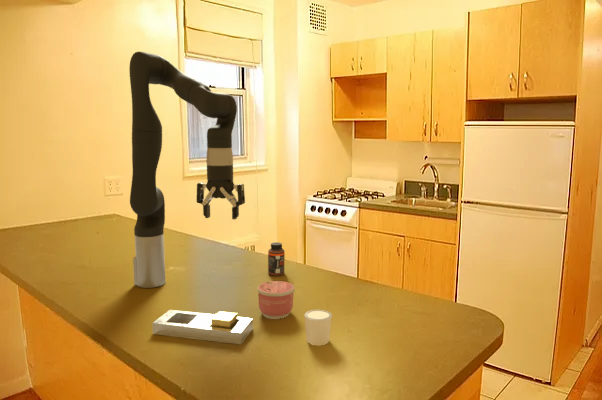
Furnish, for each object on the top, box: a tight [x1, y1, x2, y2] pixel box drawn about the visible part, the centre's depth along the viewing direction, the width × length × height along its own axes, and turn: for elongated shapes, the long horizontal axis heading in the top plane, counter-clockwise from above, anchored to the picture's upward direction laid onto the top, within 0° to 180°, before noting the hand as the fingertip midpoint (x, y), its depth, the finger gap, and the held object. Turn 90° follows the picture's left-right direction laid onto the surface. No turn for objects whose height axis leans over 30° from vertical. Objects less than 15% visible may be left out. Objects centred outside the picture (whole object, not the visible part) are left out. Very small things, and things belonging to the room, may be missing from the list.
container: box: [256, 280, 295, 320], centre depth 132 cm, size 10×10×8 cm
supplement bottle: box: [267, 242, 286, 277], centre depth 168 cm, size 6×6×11 cm
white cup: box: [304, 309, 333, 346], centre depth 115 cm, size 7×7×7 cm
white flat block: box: [151, 309, 254, 345], centre depth 121 cm, size 24×9×3 cm, turn 77°
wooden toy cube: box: [211, 310, 238, 329], centre depth 119 cm, size 5×5×5 cm
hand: (221, 218), depth 137 cm, fingers open, 8 cm apart
